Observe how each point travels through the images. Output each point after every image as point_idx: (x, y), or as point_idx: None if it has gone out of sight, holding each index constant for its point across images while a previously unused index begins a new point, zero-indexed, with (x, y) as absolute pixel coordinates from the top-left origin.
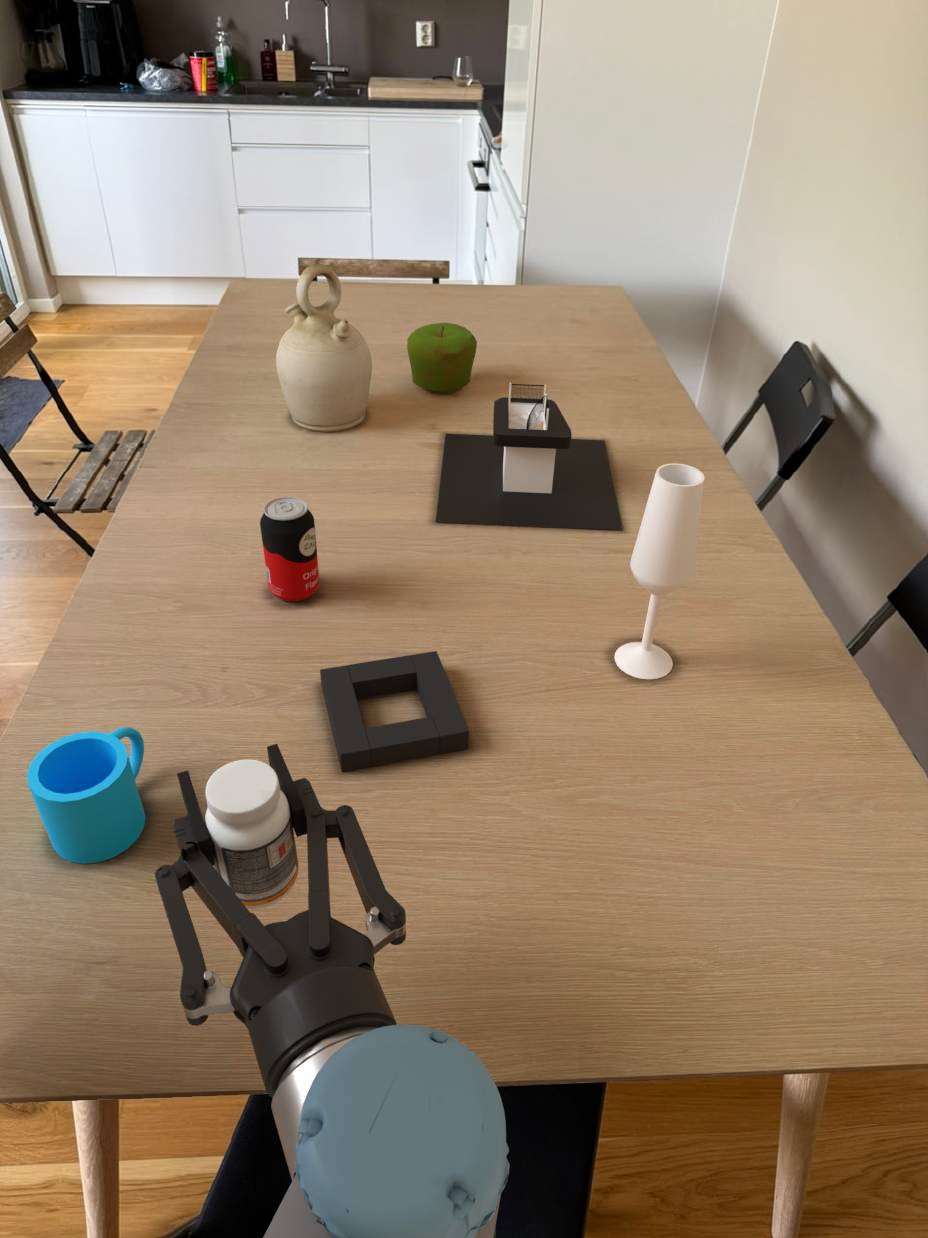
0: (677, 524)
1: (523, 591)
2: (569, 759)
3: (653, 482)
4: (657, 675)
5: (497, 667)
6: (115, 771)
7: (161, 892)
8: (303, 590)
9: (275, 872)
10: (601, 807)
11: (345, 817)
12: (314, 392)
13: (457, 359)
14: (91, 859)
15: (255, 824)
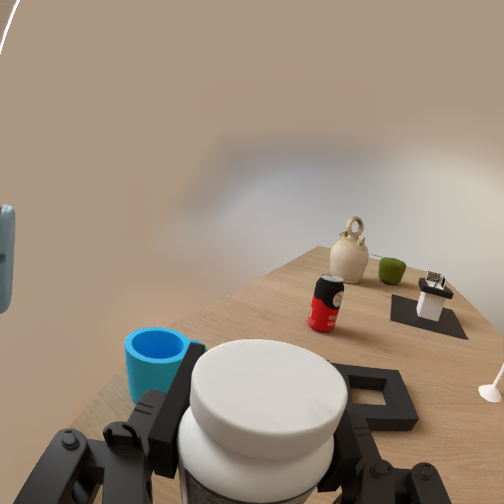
0: None
1: (433, 355)
2: (465, 442)
3: None
4: (497, 400)
5: (425, 387)
6: (175, 357)
7: (40, 461)
8: (326, 325)
9: None
10: (481, 471)
11: (427, 482)
12: (344, 263)
13: (399, 269)
14: None
15: (267, 463)
